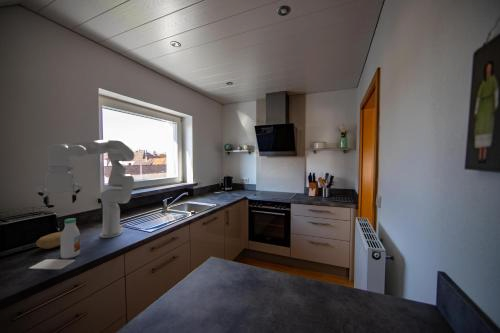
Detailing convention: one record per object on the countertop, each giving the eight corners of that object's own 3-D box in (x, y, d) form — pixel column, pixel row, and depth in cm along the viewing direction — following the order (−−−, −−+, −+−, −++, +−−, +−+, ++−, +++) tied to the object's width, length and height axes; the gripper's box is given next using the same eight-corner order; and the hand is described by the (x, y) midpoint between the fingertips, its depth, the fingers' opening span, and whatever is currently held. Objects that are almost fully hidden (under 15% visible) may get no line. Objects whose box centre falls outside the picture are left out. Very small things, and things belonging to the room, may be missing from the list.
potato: (32, 250, 110) (32, 236, 110) (65, 241, 122) (64, 228, 122) (39, 254, 106) (39, 240, 105) (72, 244, 118) (72, 231, 118)
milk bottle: (68, 260, 101) (67, 222, 100) (56, 258, 102) (56, 220, 101) (83, 253, 108) (83, 217, 107) (72, 251, 110) (72, 216, 109)
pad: (46, 260, 100) (46, 259, 100) (75, 260, 100) (75, 259, 100) (28, 268, 92) (28, 268, 92) (60, 269, 93) (60, 268, 92)
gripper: (83, 168, 104) (84, 199, 106) (36, 169, 94) (38, 204, 95) (81, 169, 98) (82, 203, 100) (31, 171, 88) (33, 207, 89)
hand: (60, 203), depth 98 cm, fingers open, 9 cm apart
